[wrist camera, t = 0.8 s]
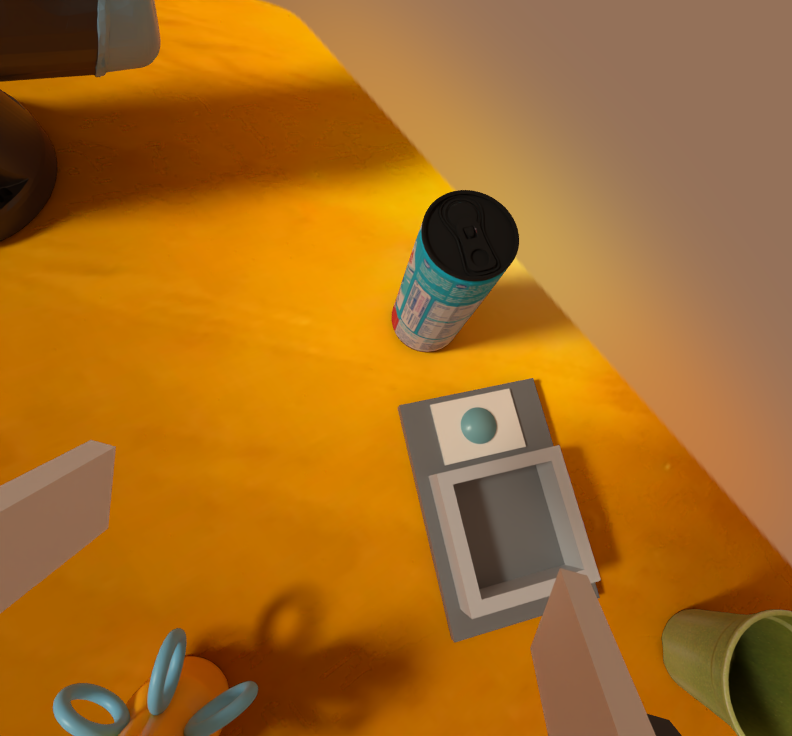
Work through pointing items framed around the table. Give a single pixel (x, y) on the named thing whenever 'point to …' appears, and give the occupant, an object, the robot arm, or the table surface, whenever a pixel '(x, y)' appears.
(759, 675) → the plant pot
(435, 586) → the table surface
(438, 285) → the beverage can
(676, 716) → the table surface
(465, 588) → the can holder
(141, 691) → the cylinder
